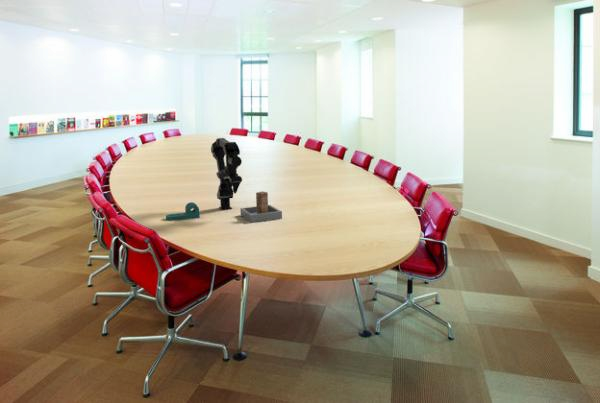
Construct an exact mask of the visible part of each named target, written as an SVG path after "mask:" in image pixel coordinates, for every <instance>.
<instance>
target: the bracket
mask: <svg viewBox="0 0 600 403" xmlns="http://www.w3.org/2000/svg"><path fill="white" fill-rule="evenodd" d="M184 210H185V212H179V213H170V214H169V213H168V214H166V215H165V220H166V221H169V222H170V221H181V220H191V219H199V218H200V216H201V215H200V208H199V206H198V205H197V204H196V203H195V202H192V201H191V202H188V203H187V204H186V205H185V207H184Z"/></svg>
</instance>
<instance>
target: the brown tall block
mask: <svg viewBox="0 0 600 403" xmlns="http://www.w3.org/2000/svg"><path fill="white" fill-rule="evenodd" d="M255 197H256V199H255V200H256V202H255V203H256V206H255V207H257V214H261V213H268V205H269V193H268V191H259V192H257V191H256V192H255Z"/></svg>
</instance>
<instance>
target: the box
mask: <svg viewBox="0 0 600 403" xmlns="http://www.w3.org/2000/svg"><path fill="white" fill-rule="evenodd" d="M239 210H240V216H241V217H243V218H244V219H246V220H247V221H249V222H250V223H252V224H253V223H259V222H267V221H274V220H280V219H283V211H282V210H280V209H279V208H277V207H275V206H272V205H271V204H268V213H261V214H257V207H256V206H250V207H249V206H247V207H240V208H239Z"/></svg>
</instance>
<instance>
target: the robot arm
mask: <svg viewBox="0 0 600 403" xmlns="http://www.w3.org/2000/svg"><path fill="white" fill-rule="evenodd" d="M210 152H211V154H212V157H213V158H214V159H215V160H216V165H217V172H216V173H215V174H216V177H217V179H219V186H218V187H217V193H216V198H217V199H218V200H220V201H219V202H220V206H219V207H218V208H219V209H220V210H230V209H232V210H233V207H232V206H231V199H234V194H237V192H238V189H239V187H240V185H241V183H242V181H243V178H242V176H241V175H239V173H238V171H237V170H238V167H240V166H241V165H242V162H243V161H242V158H241V157H240V155H241V150H240V147H239V146H238V144H237V142H235V141H229V140H227V139H226V138H225V137H220V138H219V137H217V138H216V140H215V141H214V142H212V144H211V146H210Z"/></svg>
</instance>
